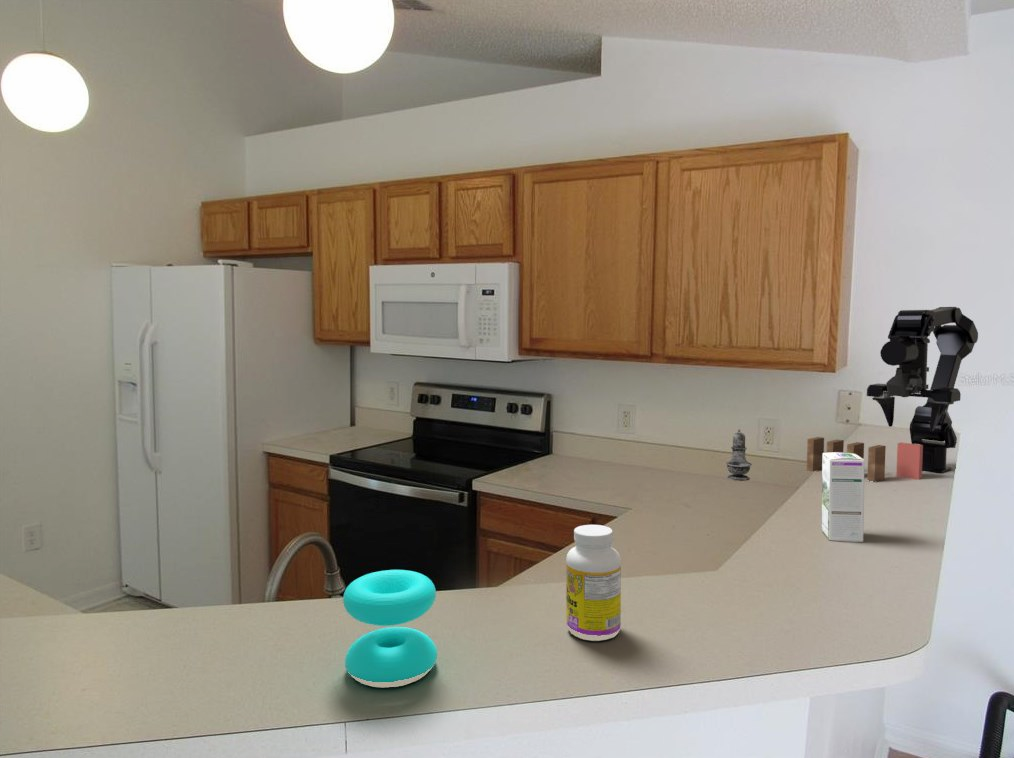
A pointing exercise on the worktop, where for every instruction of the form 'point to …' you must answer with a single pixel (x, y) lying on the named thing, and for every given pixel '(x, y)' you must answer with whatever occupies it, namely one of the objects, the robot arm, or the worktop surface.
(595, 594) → the supplement bottle
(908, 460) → the domino
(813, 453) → the domino
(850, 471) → the syrup box
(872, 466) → the domino
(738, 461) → the salt shaker
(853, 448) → the domino
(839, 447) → the domino
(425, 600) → the teal rings
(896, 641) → the worktop surface
